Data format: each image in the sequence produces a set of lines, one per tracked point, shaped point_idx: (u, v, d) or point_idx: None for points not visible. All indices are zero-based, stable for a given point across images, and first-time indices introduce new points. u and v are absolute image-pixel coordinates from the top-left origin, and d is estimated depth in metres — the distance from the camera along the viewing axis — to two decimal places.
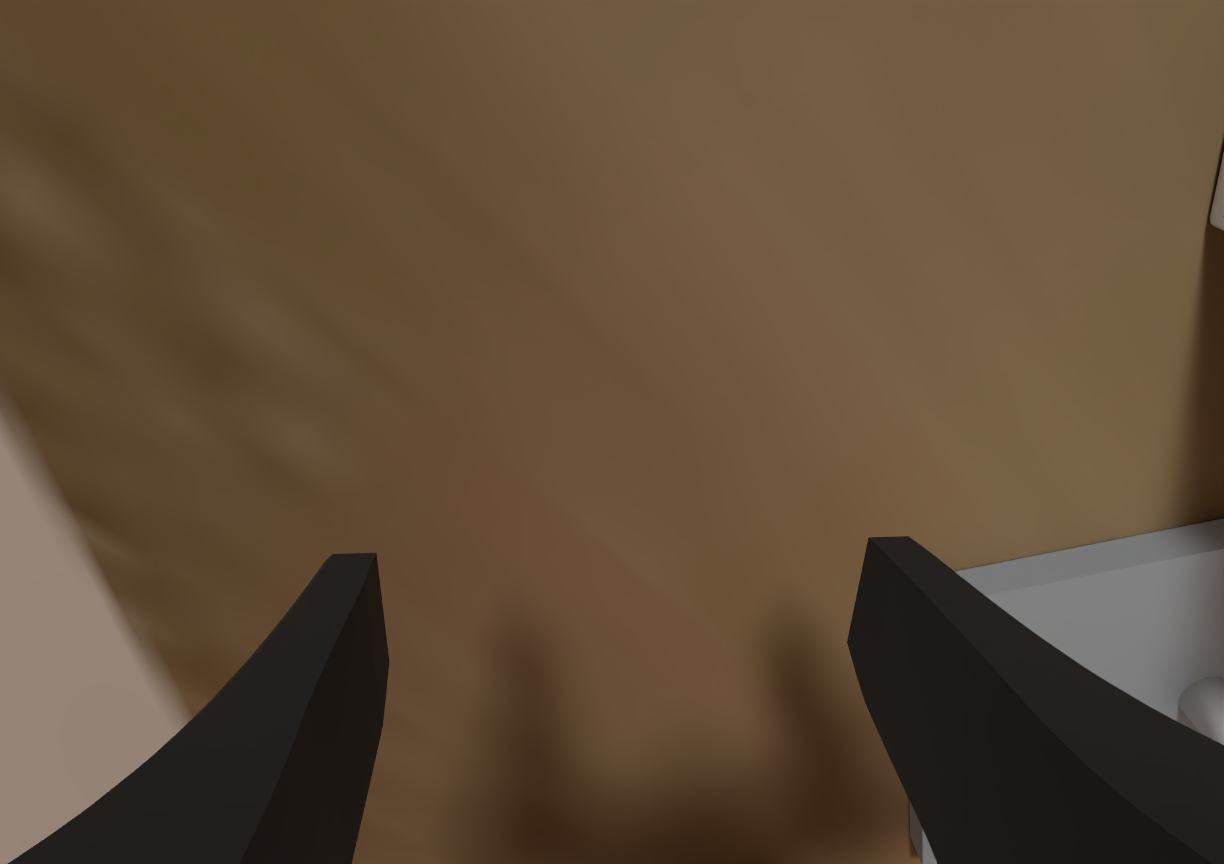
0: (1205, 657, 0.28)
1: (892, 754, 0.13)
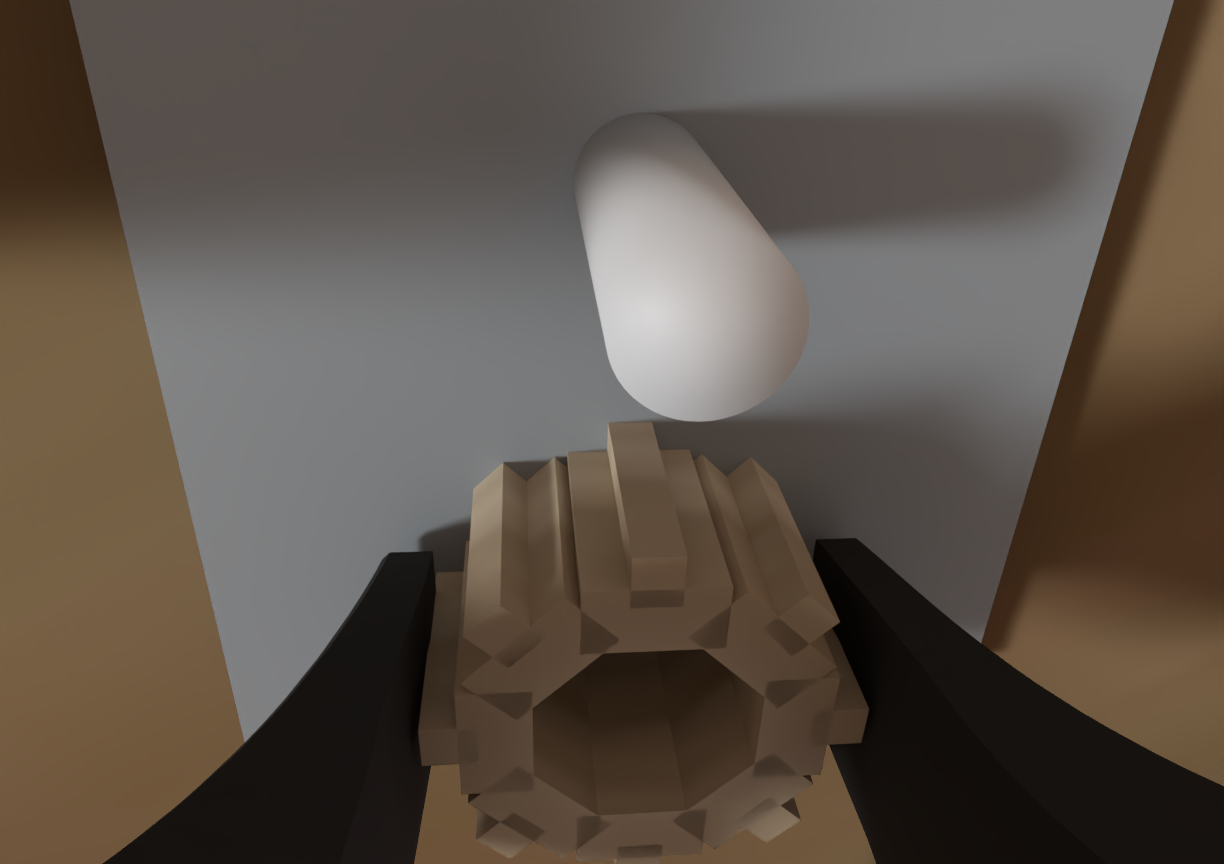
0: (495, 200, 0.11)
1: (837, 757, 0.13)
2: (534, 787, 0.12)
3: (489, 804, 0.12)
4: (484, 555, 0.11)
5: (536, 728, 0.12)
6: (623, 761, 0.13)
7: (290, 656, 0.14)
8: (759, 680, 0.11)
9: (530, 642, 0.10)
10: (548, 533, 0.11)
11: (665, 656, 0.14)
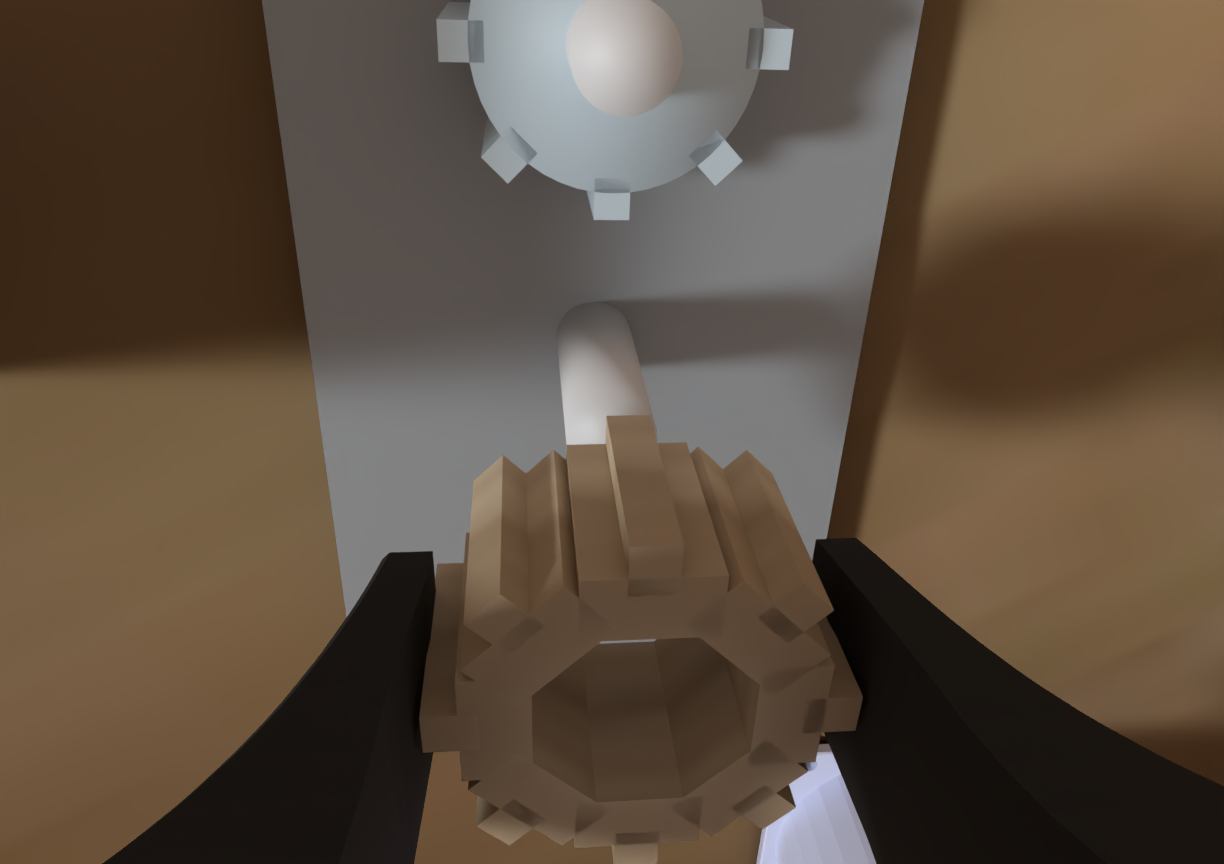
0: (513, 346, 0.20)
1: (837, 757, 0.13)
2: (533, 774, 0.12)
3: (489, 791, 0.12)
4: (484, 545, 0.11)
5: (535, 716, 0.12)
6: (621, 749, 0.13)
7: None
8: (754, 668, 0.11)
9: (529, 630, 0.11)
10: (548, 523, 0.12)
11: (663, 647, 0.15)
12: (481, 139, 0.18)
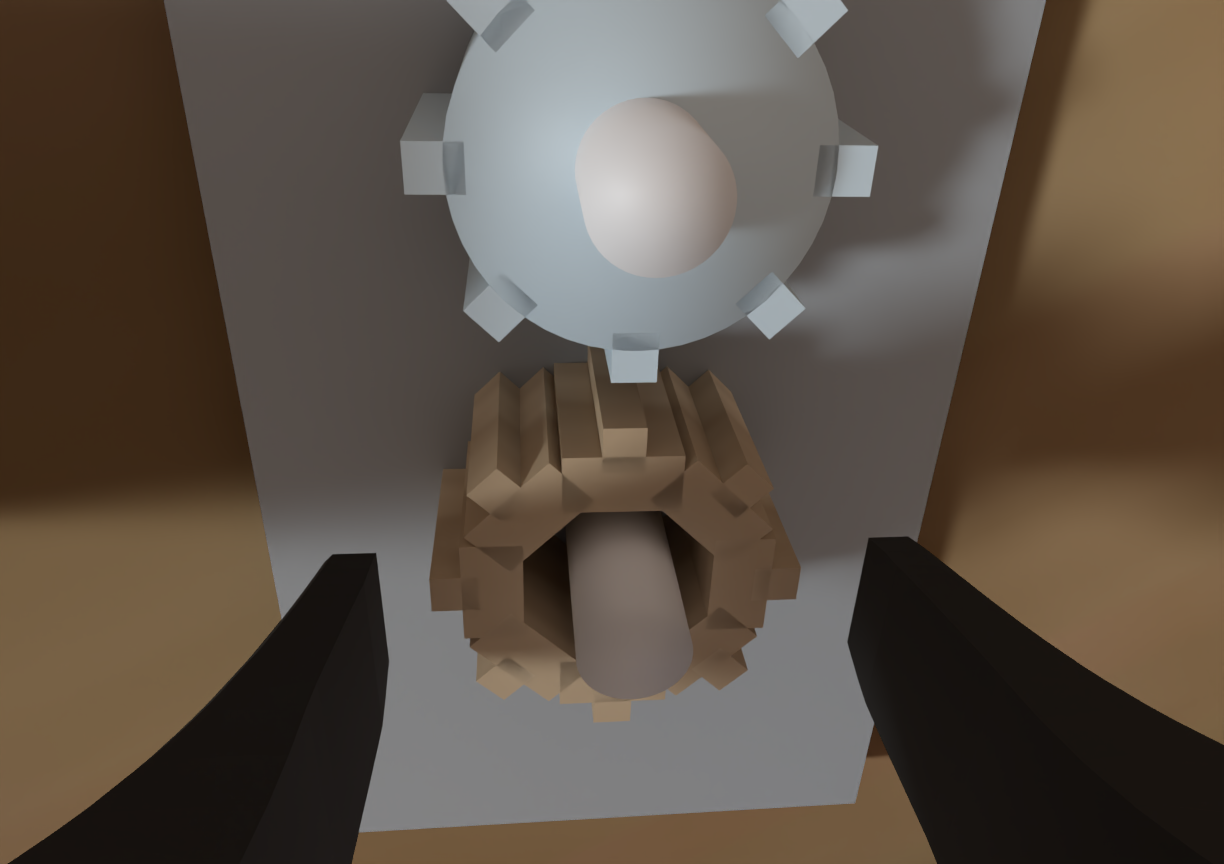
0: None
1: (892, 754, 0.13)
2: (524, 633, 0.14)
3: (487, 648, 0.14)
4: (484, 438, 0.14)
5: (526, 590, 0.15)
6: None
7: None
8: (709, 539, 0.13)
9: (521, 501, 0.13)
10: (536, 421, 0.14)
11: None
12: (466, 258, 0.14)
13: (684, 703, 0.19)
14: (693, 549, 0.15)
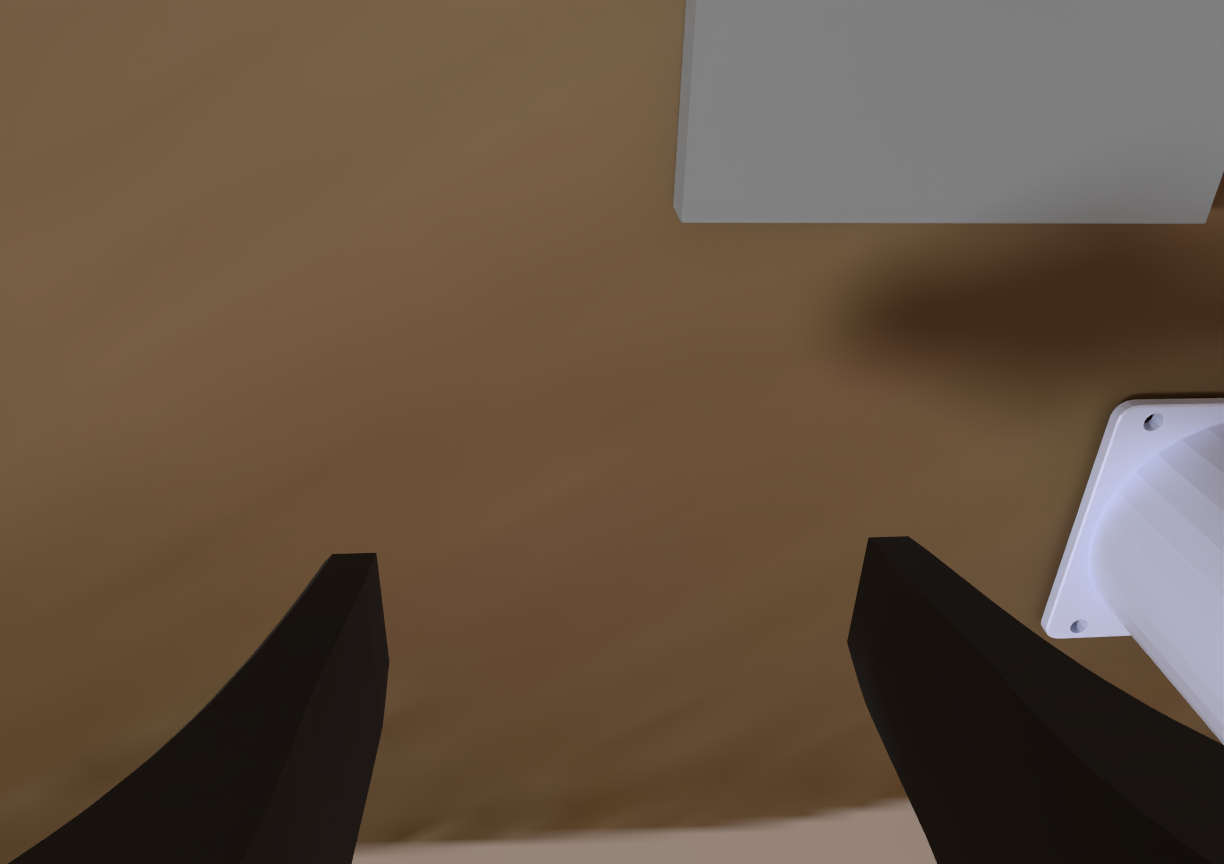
0: None
1: (892, 754, 0.13)
2: None
3: None
4: None
5: None
6: None
7: (733, 137, 0.19)
8: None
9: None
10: None
11: None
12: None
13: (1070, 56, 0.19)
14: None
